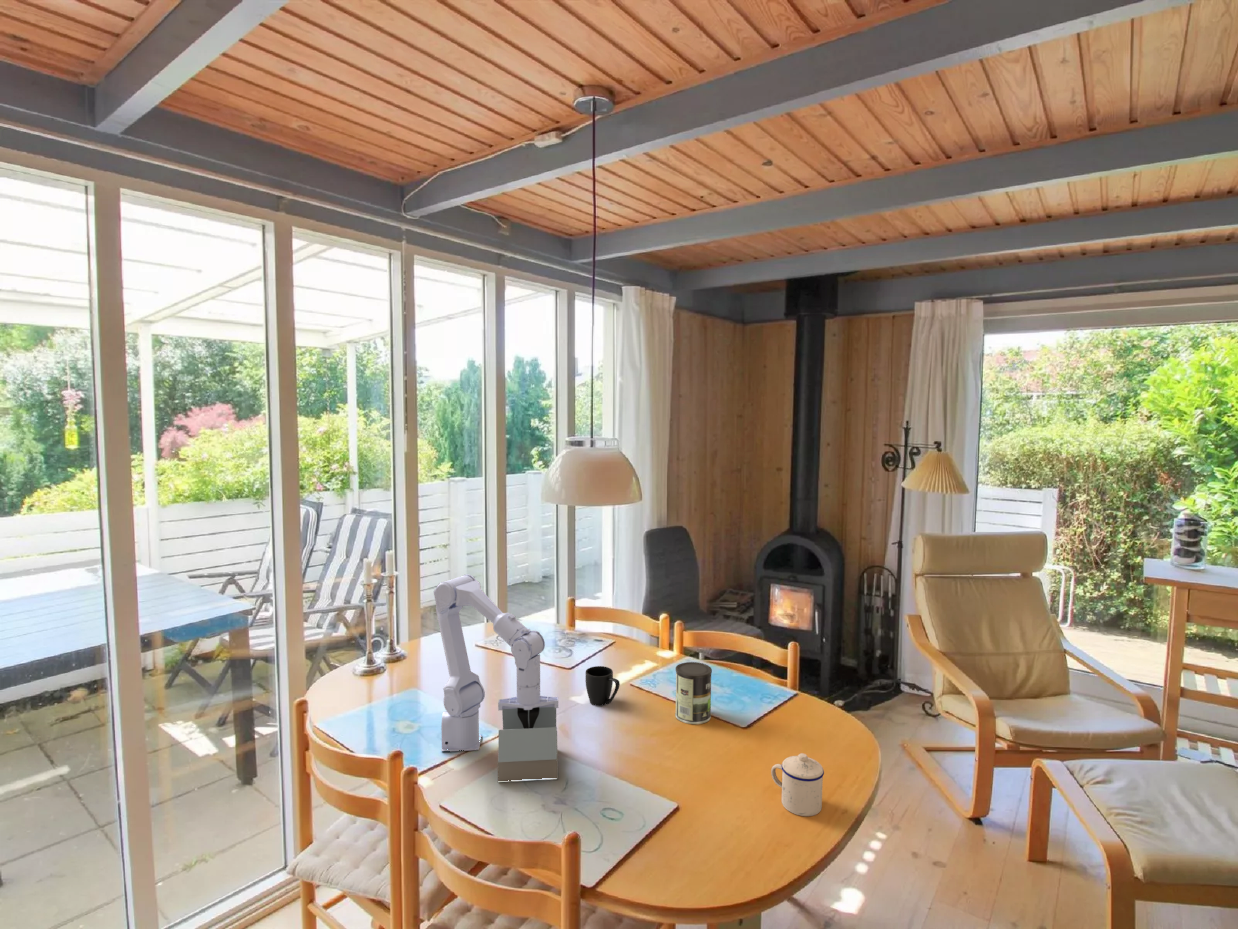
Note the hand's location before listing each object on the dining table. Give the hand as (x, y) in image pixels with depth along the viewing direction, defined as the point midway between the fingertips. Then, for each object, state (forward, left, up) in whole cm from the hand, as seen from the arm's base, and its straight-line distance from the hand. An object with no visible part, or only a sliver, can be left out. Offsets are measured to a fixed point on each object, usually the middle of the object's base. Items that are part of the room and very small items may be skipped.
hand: (528, 736), depth 161 cm
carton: (0, 0, -8) cm, 8 cm away
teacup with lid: (+60, -21, -8) cm, 64 cm away
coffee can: (+46, +22, -8) cm, 52 cm away
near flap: (0, -7, +1) cm, 7 cm away
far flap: (0, +7, +1) cm, 7 cm away
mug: (+21, +32, -8) cm, 39 cm away
